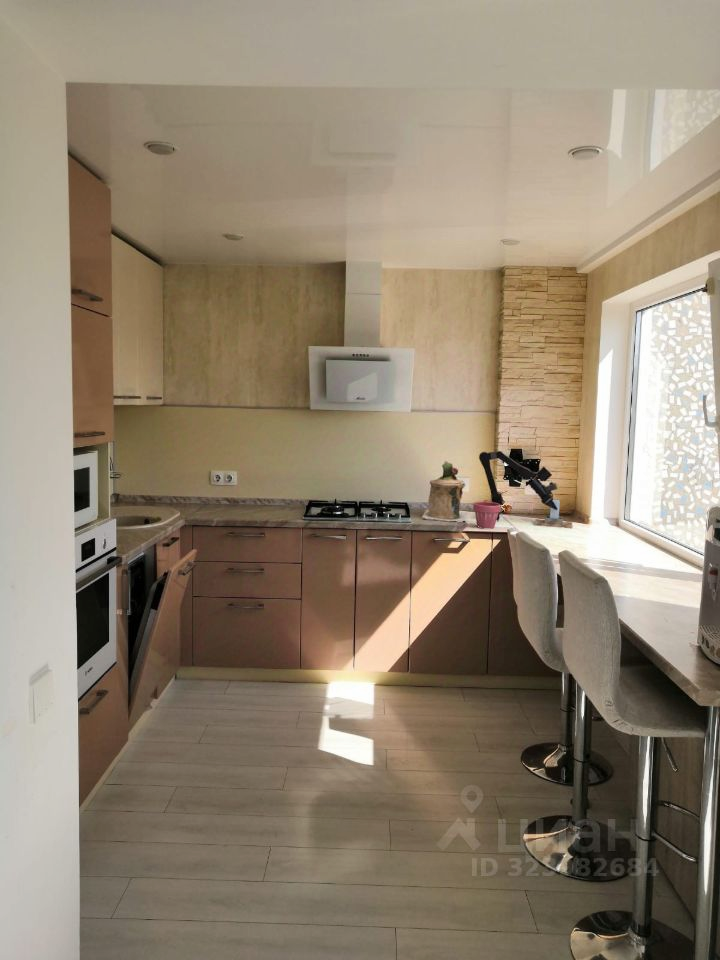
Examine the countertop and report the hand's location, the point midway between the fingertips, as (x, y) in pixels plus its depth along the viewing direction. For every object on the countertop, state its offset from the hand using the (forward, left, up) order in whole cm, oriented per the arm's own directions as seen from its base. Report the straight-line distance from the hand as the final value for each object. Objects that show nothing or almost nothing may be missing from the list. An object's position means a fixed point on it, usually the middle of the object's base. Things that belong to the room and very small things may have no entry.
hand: (557, 508), depth 414 cm
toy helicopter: (-26, +33, -10) cm, 44 cm away
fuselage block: (-1, 0, -8) cm, 8 cm away
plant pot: (-42, -17, -10) cm, 46 cm away
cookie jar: (-61, +8, -10) cm, 62 cm away
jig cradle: (-1, 0, -9) cm, 9 cm away
